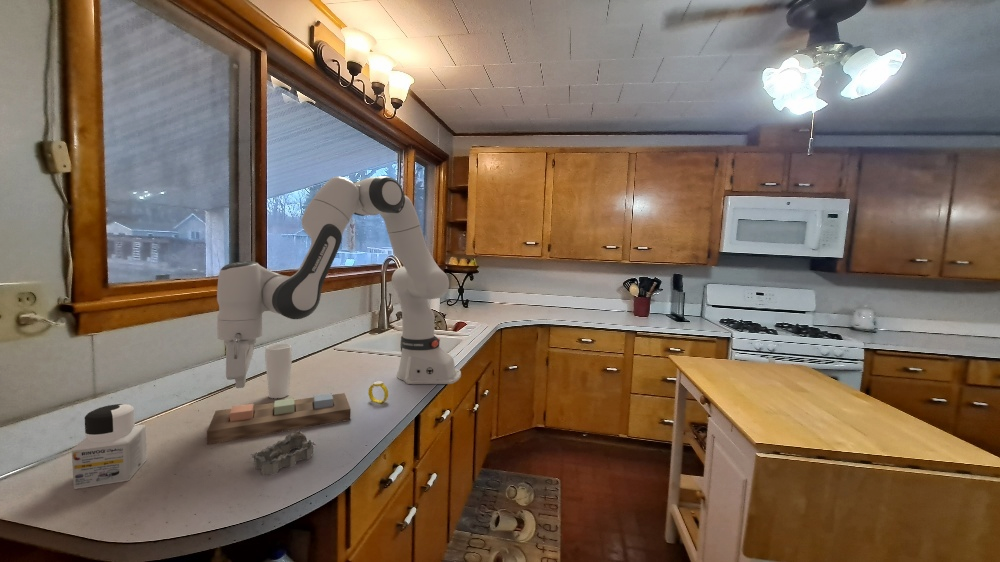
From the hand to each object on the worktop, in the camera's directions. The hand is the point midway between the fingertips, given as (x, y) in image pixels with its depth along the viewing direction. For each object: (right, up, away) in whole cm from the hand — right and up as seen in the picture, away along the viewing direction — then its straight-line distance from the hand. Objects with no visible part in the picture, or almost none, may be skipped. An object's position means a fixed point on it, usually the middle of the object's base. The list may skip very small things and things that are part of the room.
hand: (240, 386), depth 92 cm
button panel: (+8, -10, +5) cm, 14 cm away
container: (-12, -12, -19) cm, 25 cm away
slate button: (+16, -8, +9) cm, 20 cm away
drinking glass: (-3, -9, +21) cm, 23 cm away
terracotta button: (0, -9, +1) cm, 9 cm away
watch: (+27, -10, +20) cm, 35 cm away
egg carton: (+18, -13, -12) cm, 25 cm away
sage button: (+8, -9, +5) cm, 13 cm away
